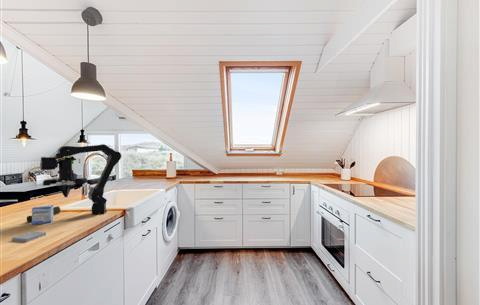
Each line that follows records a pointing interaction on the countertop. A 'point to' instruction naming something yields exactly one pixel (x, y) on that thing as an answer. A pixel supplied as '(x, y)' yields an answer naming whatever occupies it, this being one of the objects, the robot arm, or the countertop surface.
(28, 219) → the hand tool
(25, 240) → the tile
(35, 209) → the medicine box
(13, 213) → the countertop surface
